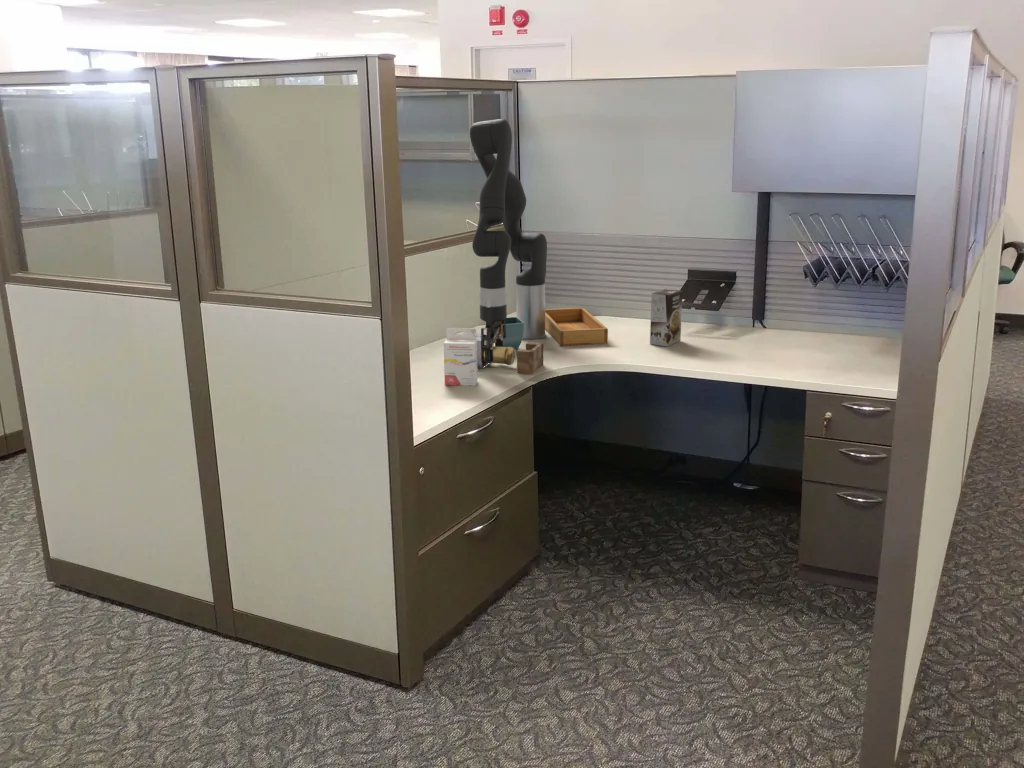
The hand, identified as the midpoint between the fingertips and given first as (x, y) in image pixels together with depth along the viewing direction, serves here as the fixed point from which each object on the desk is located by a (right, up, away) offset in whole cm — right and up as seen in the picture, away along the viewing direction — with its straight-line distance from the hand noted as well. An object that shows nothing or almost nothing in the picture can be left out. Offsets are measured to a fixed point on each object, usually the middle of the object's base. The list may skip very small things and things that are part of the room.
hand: (494, 358), depth 260 cm
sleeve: (-6, -2, +3) cm, 7 cm away
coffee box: (+53, +6, +25) cm, 59 cm away
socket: (+10, -3, -3) cm, 11 cm away
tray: (+25, +9, +38) cm, 46 cm away
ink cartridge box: (-9, -7, -15) cm, 18 cm away
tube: (-2, -2, +1) cm, 3 cm away
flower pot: (+4, +3, +20) cm, 20 cm away
